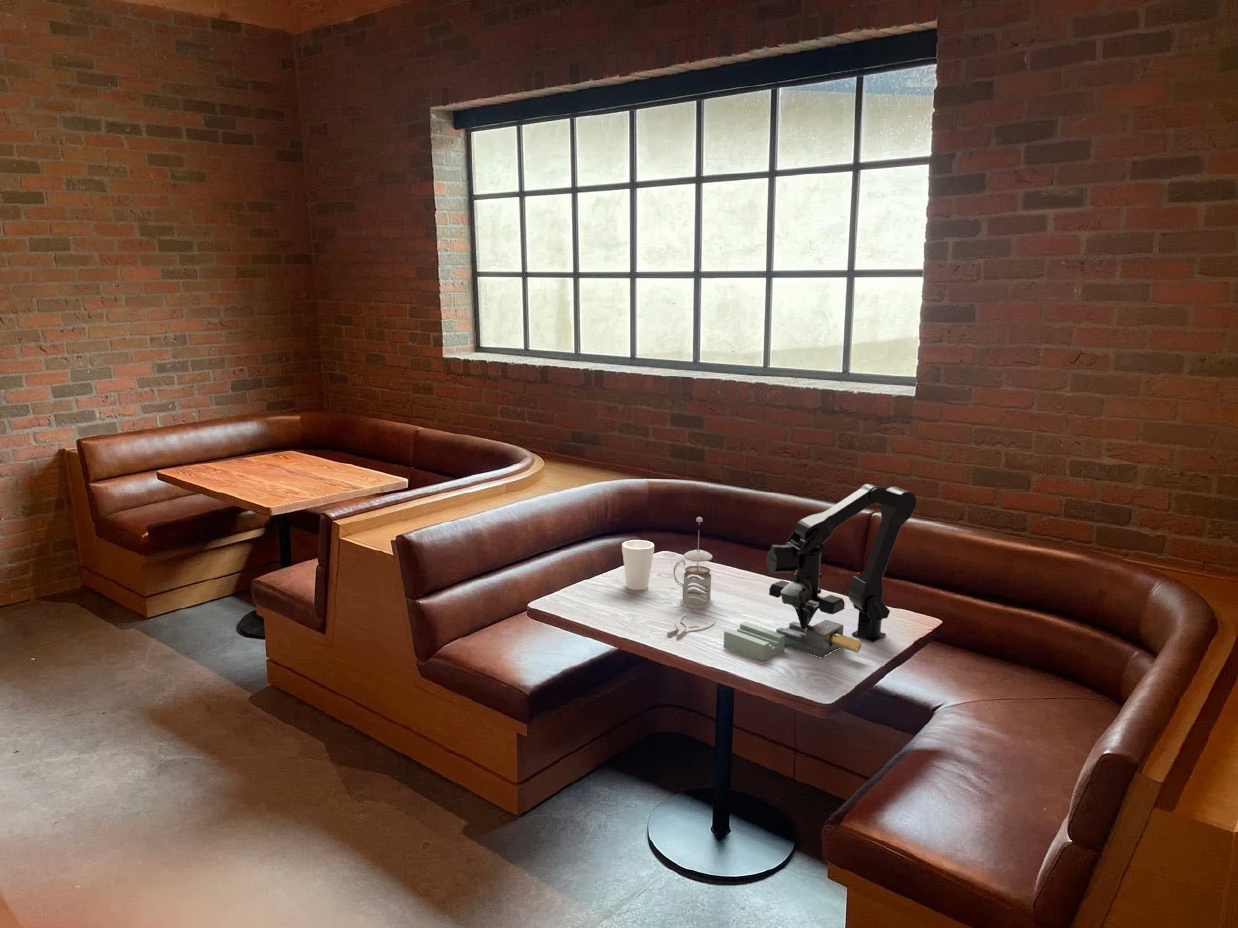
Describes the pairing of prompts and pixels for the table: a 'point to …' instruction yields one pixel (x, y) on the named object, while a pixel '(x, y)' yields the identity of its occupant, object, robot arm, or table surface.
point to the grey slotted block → (811, 637)
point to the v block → (754, 641)
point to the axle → (842, 641)
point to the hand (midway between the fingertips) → (803, 628)
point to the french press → (696, 579)
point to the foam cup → (637, 563)
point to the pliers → (682, 630)
